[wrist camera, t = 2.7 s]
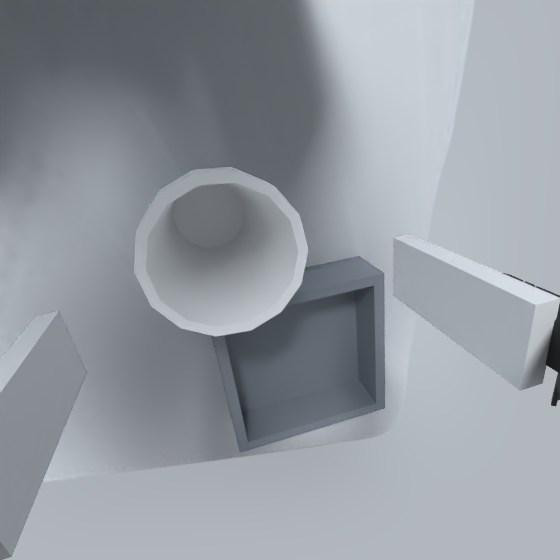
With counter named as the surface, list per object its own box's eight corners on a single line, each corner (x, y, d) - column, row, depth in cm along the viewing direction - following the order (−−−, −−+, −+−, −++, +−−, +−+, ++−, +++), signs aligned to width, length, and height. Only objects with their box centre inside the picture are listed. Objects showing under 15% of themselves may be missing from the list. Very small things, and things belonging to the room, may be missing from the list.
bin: (233, 416, 40) (240, 452, 35) (203, 290, 33) (206, 313, 29) (363, 379, 43) (384, 408, 38) (359, 256, 36) (384, 273, 32)
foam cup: (127, 211, 29) (91, 261, 17) (207, 131, 28) (224, 127, 17) (210, 283, 33) (226, 362, 22) (282, 215, 33) (338, 259, 21)
